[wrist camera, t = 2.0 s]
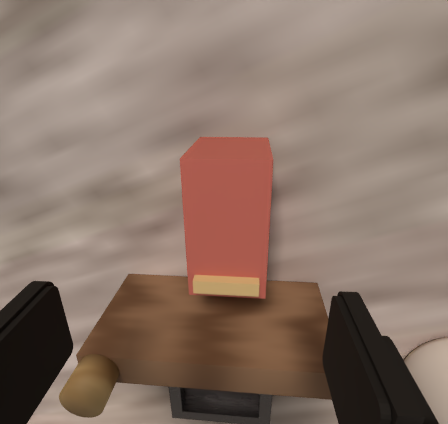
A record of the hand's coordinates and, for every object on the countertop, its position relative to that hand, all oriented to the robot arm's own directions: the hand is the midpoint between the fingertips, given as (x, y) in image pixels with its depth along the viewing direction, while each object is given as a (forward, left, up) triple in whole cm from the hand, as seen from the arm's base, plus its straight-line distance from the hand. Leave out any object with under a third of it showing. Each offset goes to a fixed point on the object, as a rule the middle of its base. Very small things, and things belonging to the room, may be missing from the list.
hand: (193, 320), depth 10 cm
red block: (-1, 0, -12) cm, 12 cm away
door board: (0, +8, -12) cm, 14 cm away
